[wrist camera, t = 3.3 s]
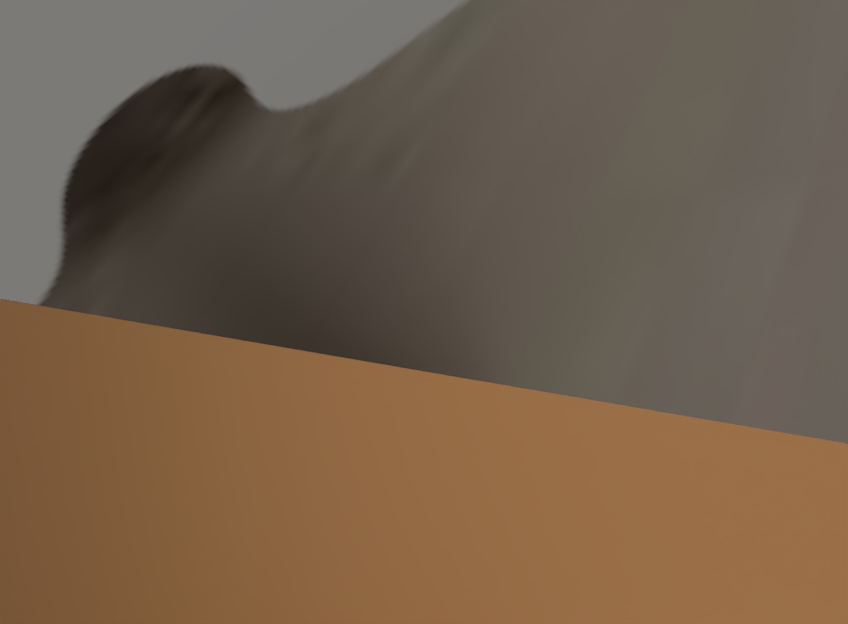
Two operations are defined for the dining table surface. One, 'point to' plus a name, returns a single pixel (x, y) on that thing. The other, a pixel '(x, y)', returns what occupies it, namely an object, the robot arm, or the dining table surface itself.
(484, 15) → the dining table surface
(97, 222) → the dining table surface
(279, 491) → the orange brick
